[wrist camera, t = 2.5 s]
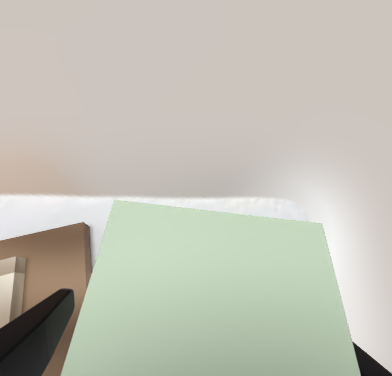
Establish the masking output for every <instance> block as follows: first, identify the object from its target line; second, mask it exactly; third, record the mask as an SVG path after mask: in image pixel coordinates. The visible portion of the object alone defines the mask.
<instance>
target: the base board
mask: <svg viewBox="0 0 392 376" xmlns="http://www.w3.org/2000/svg"><path fill="white" fill-rule="evenodd" d="M91 274H92V272H91V254H90V236H89V226H88V225H86V224H85V223H84V222H82V223H77V224H73V225H69V226H64V227H60V228H55V229H51V230H46V231H42V232H37V233H33V234H28V235H24V236H20V237H15V238H11V239H6V240H2V241H0V328H1V327H3V326H4V325H6V324H7V323H9V322H10V321H12V320H13V319H15V318H16V317H18V316H20V315H21V314H23V313H24V312H26V311H27V310H29V309H30V308H32V307H33V306H35V305H36V304H38V303H39V302H41V301H42V300H44V299H45V298H47V297H48V296H50V295H52V294H53V293H55V292H56V291H58V290H59V289H61V288H69V289H73V290H74V298H75V308H74V311H73V314H72V316H71V318H70V320H69V322H68V324H67V326H66V329H65V331H64V333H63V335H62V337H61V339H60V341H59V343H58V346H57V348H56V350H55V352H54V354H53V356H52V358H51V360H50V362H49V364H48V366H47V367H46V369H45V371H44V373H43V375H42V376H61V373H62V369H63V366H64V363H65V360H66V356H67V353H68V350H69V347H70V343H71V340H72V337H73V333H74V330H75V327H76V324H77V320H78V317H79V314H80V310H81V307H82V304H83V301H84V297H85V294H86V291H87V287H88V284H89V281H90V278H91Z"/></svg>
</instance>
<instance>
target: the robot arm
mask: <svg viewBox="0 0 392 376" xmlns="http://www.w3.org/2000/svg"><path fill="white" fill-rule="evenodd" d="M74 308H75V298H74V290H73V289H69V288H61V289H59V290H58V291H56V292H55V293H53V294H52V295H50V296H48V297H47V298H45V299H44V300H42V301H41V302H39V303H38V304H36V305H35V306H33V307H32V308H30V309H29V310H27V311H26V312H24V313H23V314H21V315H20V316H18V317H16V318H15V319H13V320H12V321H10V322H9V323H7V324H6V325H4V326H3V327H1V328H0V376H42V375H43V373H44V371H45V369H46V367H47V366H48V364H49V362H50V360H51V358H52V356H53V354H54V352H55V350H56V348H57V346H58V343H59V341H60V339H61V337H62V335H63V333H64V331H65V329H66V326H67V324H68V322H69V320H70V318H71V316H72V314H73V311H74ZM352 343H353V347H354V350H355V354H356V358H357V362H358V366H359V370H360V374H361V376H392V374H391V373H390V372H389V371H388V370H387V369H385V368H384V367H383V366H382V365H380V364H379V363H378V362H377V361H376V360H374V359H373V358H372V357H371V356H369V355H368V354H367V353H366V352H365V351H363V350H362V349H361V348H360V347H358V346H357V345H356V344H355V343H354V342H352Z"/></svg>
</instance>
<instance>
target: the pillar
mask: <svg viewBox="0 0 392 376" xmlns="http://www.w3.org/2000/svg"><path fill="white" fill-rule="evenodd" d="M61 376H361V374H360V370H359V366H358V362H357V358H356V354H355V350H354V347H353V343H352V339H351V335H350V331H349V327H348V323H347V319H346V315H345V311H344V307H343V303H342V300H341V296H340V291H339V288H338V284H337V280H336V276H335V272H334V268H333V264H332V260H331V256H330V252H329V248H328V244H327V240H326V236H325V233H324V229H323V225H322V224H320V223H312V222H304V221H295V220H286V219H277V218H269V217H260V216H251V215H242V214H233V213H225V212H216V211H207V210H198V209H189V208H181V207H172V206H163V205H154V204H145V203H137V202H128V201H119V200H114V202H113V205H112V209H111V212H110V215H109V219H108V222H107V225H106V228H105V232H104V235H103V238H102V242H101V245H100V248H99V251H98V255H97V258H96V261H95V265H94V268H93V271H92V274H91V278H90V281H89V284H88V287H87V291H86V294H85V297H84V301H83V304H82V307H81V310H80V314H79V317H78V320H77V324H76V327H75V330H74V333H73V337H72V340H71V343H70V347H69V350H68V353H67V356H66V360H65V363H64V366H63V369H62V373H61Z"/></svg>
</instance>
